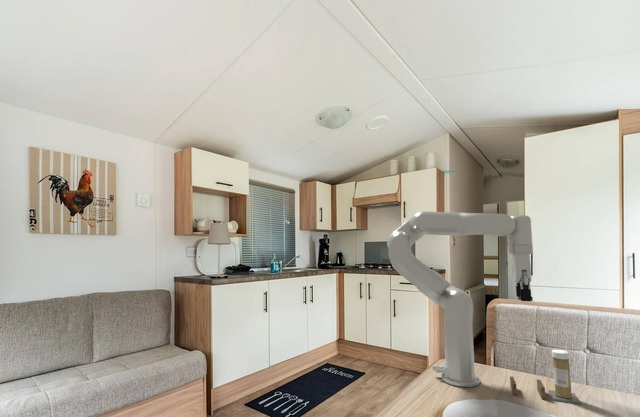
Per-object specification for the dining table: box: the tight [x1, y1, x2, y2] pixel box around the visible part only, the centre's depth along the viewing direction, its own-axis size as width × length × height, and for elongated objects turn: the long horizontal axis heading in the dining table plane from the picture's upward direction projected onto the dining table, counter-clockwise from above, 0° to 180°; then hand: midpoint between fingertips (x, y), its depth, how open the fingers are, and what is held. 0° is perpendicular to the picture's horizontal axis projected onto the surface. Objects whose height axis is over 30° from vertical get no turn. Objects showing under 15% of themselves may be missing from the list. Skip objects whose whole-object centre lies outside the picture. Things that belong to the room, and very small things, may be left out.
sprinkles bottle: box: [551, 349, 573, 398], centre depth 112 cm, size 5×5×14 cm
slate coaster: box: [547, 389, 582, 405], centre depth 111 cm, size 7×7×1 cm
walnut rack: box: [509, 376, 547, 401], centre depth 115 cm, size 9×7×4 cm
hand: (523, 298), depth 126 cm, fingers open, 9 cm apart
